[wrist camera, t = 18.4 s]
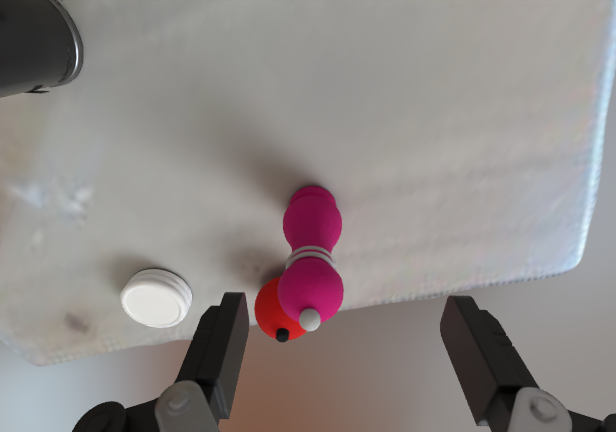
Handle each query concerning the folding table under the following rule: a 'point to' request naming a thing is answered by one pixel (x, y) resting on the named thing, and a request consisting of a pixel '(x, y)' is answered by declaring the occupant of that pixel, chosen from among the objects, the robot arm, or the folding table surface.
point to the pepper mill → (311, 258)
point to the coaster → (156, 298)
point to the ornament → (275, 314)
